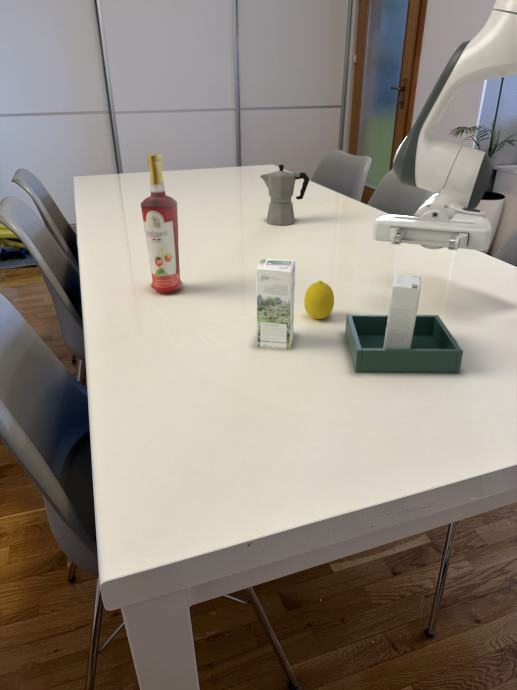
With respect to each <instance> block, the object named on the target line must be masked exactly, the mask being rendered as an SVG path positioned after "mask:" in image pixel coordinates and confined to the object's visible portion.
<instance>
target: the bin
mask: <svg viewBox="0 0 517 690" xmlns="http://www.w3.org/2000/svg"><path fill="white" fill-rule="evenodd" d="M345 318H346V319H345V329H344V330H345V332H344V333H345V334H344V336H345V339H346V343H347V347H348V351H349V355H350V358H351V363H352V366H353V369H354V373H355V374H427V375H428V374H429V375H432V374H434V375H435V374H437V375H441V374H442V375H445V374H446V375H459V374H460V370H461V366H462V360H463V355H464V350H463V349H462V348H461V346H460V345H459V343H458V342H457V340H456V338H454V336H453V334H452V332H451V331H450V330H449V328H448V326H446V325H445V323H444V322H443V320H442V318H441V317H440V316H439V315H438V314H417V315H416V321H415V326H414V332H413V338H412V344H411V349H383V347H384V339H385V332H386V325H387V319H388V314H349V313H348V314H346V317H345Z"/></svg>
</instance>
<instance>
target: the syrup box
mask: <svg viewBox="0 0 517 690" xmlns="http://www.w3.org/2000/svg"><path fill="white" fill-rule="evenodd" d="M255 279H256V280H255V281H256V282H255V284H256V285H255V286H256V346H257V347H259V348H271V349H272V348H273V349H282V350H283V349H285V350H287V349H288V350H290V349H291V347H292V344H293V339H294V336H295V335H294V319H295V318H294V317H295V316H294V315H295V314H294V313H295V288H296V287H295V286H296V285H295V284H296V260H295V259H274V258H261V260H260V261H259V262H258V264H257V266H256V270H255Z"/></svg>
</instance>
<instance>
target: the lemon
mask: <svg viewBox="0 0 517 690" xmlns="http://www.w3.org/2000/svg"><path fill="white" fill-rule="evenodd" d="M303 302H304V303H303V305H304V310H305V311H306V314H307V315H308V316H309V317H310V318H312V319H315V320H323V319H326V318H327V317H329V316H330V315H331V314H332V313H333V309H334V307H335V294H334V291H333V289H332V287H331V286H330V285H329V284H328V283H326V282H323V281H322V280H318V281H316V282H313V283H312V284H310V285H309V286H308V288H307V289H306V291H305V293H304V301H303Z"/></svg>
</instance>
